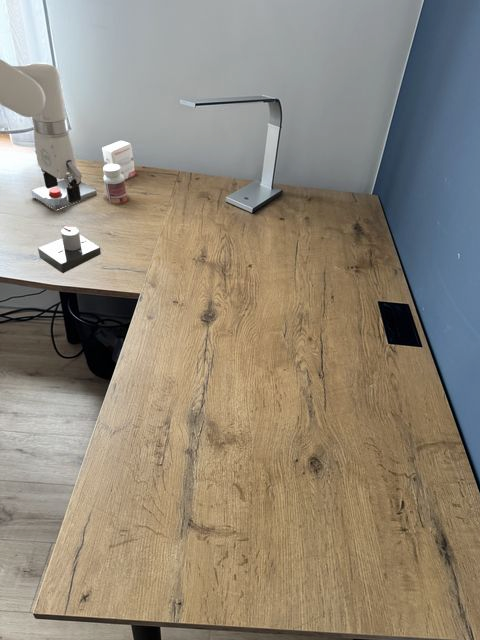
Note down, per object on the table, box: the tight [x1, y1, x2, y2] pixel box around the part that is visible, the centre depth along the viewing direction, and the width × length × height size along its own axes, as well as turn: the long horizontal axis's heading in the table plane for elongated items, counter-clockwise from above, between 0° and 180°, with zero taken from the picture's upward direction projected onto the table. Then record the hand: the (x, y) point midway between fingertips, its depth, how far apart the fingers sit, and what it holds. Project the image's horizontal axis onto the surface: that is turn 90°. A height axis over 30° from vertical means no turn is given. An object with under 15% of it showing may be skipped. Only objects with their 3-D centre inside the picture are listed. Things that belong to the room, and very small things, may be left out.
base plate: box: [37, 234, 102, 274], centre depth 133 cm, size 12×10×3 cm
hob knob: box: [60, 226, 81, 251], centre depth 131 cm, size 4×4×5 cm
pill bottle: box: [102, 164, 128, 205], centre depth 155 cm, size 6×6×11 cm
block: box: [30, 177, 98, 211], centre depth 156 cm, size 16×13×4 cm
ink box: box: [101, 139, 136, 181], centre depth 166 cm, size 9×5×12 cm, turn 145°
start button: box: [49, 188, 61, 198], centre depth 150 cm, size 3×3×2 cm
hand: (63, 193), depth 128 cm, fingers open, 9 cm apart
